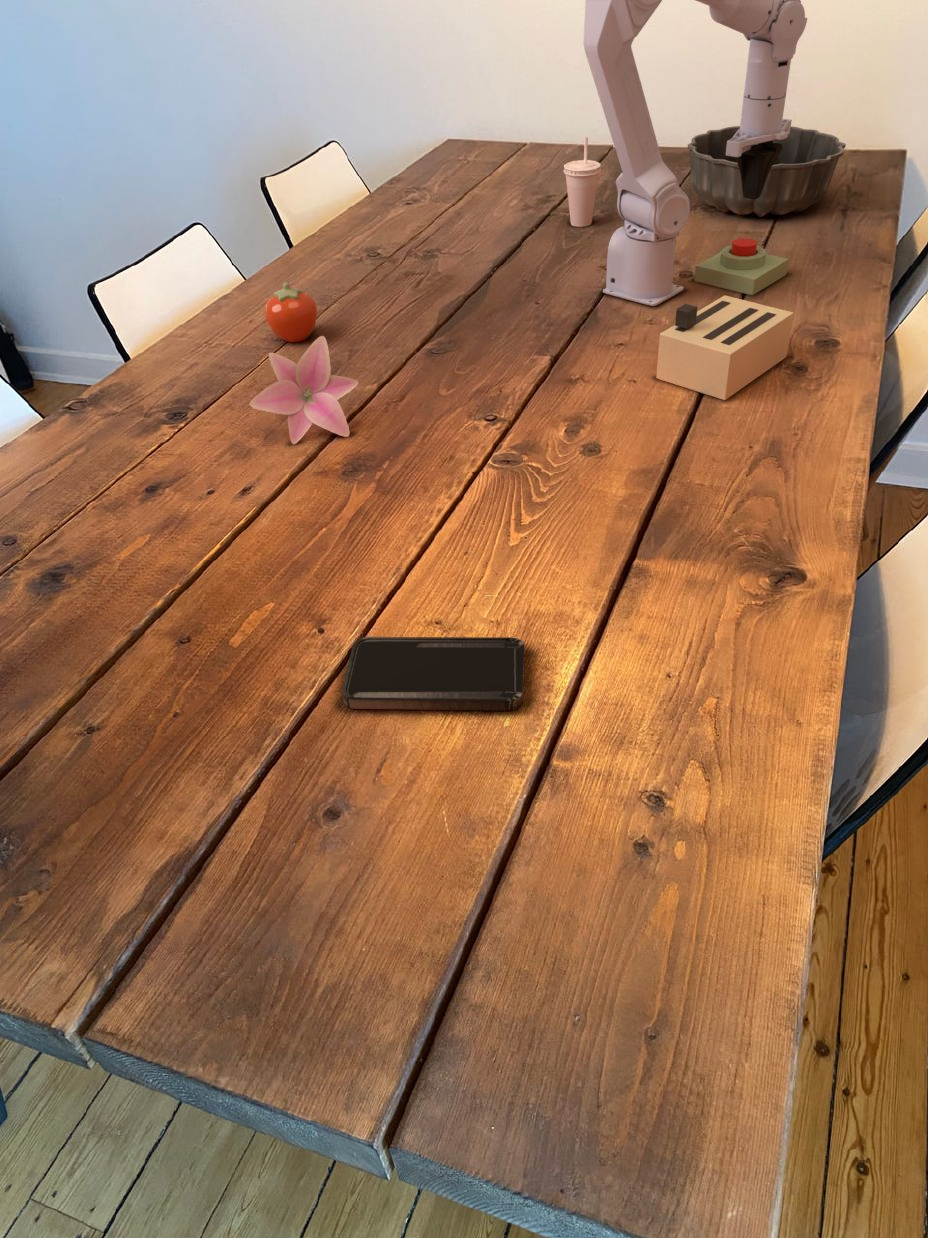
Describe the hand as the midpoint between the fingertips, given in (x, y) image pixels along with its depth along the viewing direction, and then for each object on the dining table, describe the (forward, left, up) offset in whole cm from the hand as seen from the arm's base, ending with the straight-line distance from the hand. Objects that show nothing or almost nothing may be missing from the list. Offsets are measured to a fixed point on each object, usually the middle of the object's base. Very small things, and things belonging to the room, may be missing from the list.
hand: (751, 197), depth 141 cm
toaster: (+16, -32, -10) cm, 37 cm away
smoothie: (-34, +3, -11) cm, 36 cm away
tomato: (-38, -59, -11) cm, 71 cm away
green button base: (+2, -4, -10) cm, 11 cm away
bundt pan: (-14, +29, -11) cm, 34 cm away
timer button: (+2, -4, -7) cm, 8 cm away
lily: (-15, -75, -11) cm, 77 cm away
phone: (+28, -97, -10) cm, 101 cm away
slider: (+13, -36, -4) cm, 38 cm away
